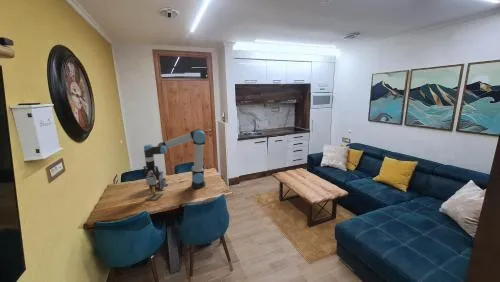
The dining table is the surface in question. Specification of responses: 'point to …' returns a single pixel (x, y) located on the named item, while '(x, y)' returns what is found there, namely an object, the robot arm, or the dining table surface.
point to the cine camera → (161, 182)
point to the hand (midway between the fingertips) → (152, 182)
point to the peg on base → (153, 195)
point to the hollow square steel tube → (151, 180)
